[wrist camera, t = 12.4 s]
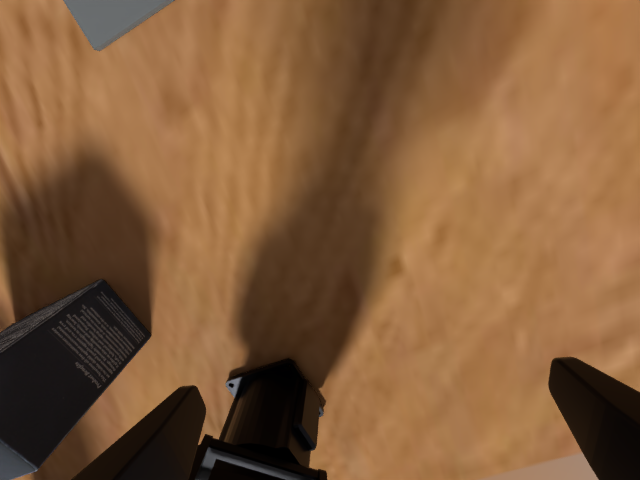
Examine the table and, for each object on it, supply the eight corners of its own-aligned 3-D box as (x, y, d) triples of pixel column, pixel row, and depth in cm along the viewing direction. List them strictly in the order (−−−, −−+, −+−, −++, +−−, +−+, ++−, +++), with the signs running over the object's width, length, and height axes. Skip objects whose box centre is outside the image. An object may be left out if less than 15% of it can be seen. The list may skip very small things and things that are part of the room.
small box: (68, 376, 27) (-84, 519, 18) (13, 322, 25) (-193, 450, 15) (156, 338, 25) (37, 480, 15) (103, 275, 23) (-75, 392, 13)
